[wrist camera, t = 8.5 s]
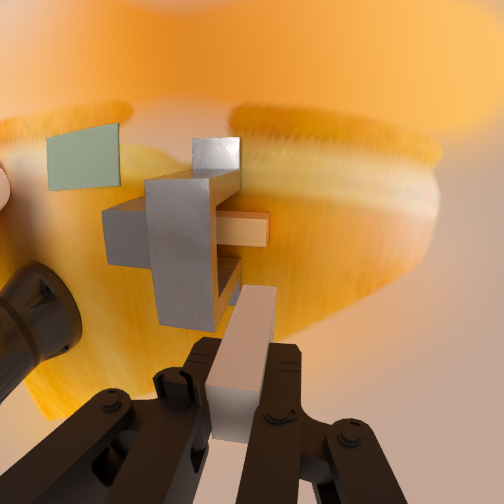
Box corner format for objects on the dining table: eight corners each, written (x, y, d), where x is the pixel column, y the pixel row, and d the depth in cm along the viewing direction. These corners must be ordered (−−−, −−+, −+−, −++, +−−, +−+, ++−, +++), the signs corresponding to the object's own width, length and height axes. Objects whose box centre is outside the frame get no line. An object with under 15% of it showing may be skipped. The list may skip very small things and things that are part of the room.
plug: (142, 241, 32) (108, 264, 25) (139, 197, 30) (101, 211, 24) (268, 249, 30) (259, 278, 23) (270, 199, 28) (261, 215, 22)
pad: (50, 190, 32) (49, 191, 31) (48, 138, 29) (46, 138, 29) (120, 185, 30) (119, 186, 30) (119, 123, 28) (117, 123, 27)
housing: (201, 297, 33) (164, 354, 23) (195, 138, 27) (143, 135, 17) (240, 301, 32) (216, 362, 22) (241, 137, 27) (208, 130, 17)
